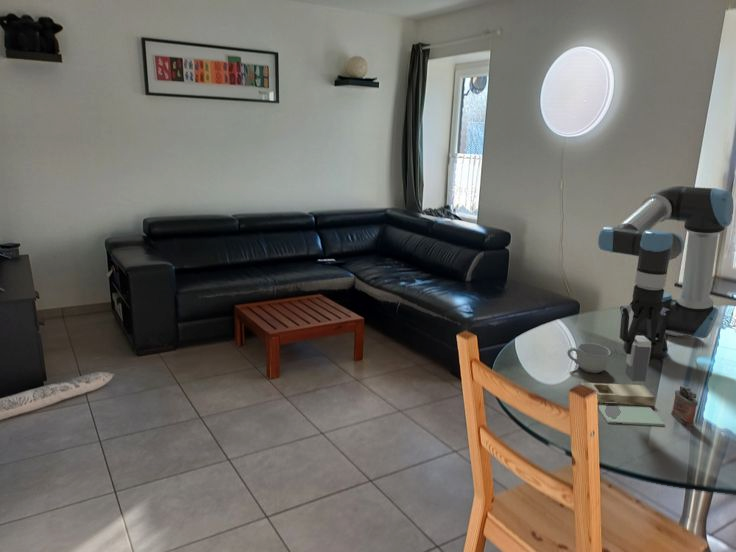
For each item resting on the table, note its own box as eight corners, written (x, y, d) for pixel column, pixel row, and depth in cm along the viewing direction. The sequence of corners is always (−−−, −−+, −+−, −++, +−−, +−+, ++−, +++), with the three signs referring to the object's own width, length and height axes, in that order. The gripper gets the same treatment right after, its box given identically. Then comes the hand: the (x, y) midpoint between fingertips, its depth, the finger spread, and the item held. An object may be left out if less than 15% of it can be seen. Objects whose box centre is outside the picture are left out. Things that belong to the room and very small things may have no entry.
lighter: (668, 413, 164) (673, 382, 162) (678, 412, 165) (684, 382, 162) (685, 427, 157) (691, 395, 154) (696, 426, 157) (702, 394, 154)
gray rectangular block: (637, 374, 161) (643, 335, 158) (644, 381, 157) (651, 342, 154) (625, 373, 162) (631, 335, 159) (632, 380, 157) (638, 341, 154)
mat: (649, 408, 167) (649, 406, 167) (664, 425, 157) (664, 423, 157) (595, 406, 168) (596, 404, 168) (607, 423, 158) (607, 421, 158)
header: (642, 393, 176) (643, 385, 176) (653, 405, 169) (654, 397, 168) (579, 390, 177) (580, 382, 177) (587, 402, 170) (588, 393, 169)
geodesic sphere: (697, 317, 233) (679, 290, 231) (711, 329, 219) (693, 300, 218) (663, 335, 237) (646, 309, 235) (676, 347, 223) (657, 320, 222)
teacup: (606, 365, 197) (609, 345, 195) (608, 378, 187) (611, 356, 185) (565, 360, 202) (568, 339, 199) (565, 371, 192) (568, 350, 190)
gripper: (673, 283, 155) (660, 360, 161) (613, 281, 156) (602, 357, 162) (687, 291, 148) (672, 371, 154) (623, 288, 149) (612, 368, 155)
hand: (637, 364), depth 158 cm, fingers closed on gray rectangular block, 4 cm apart
